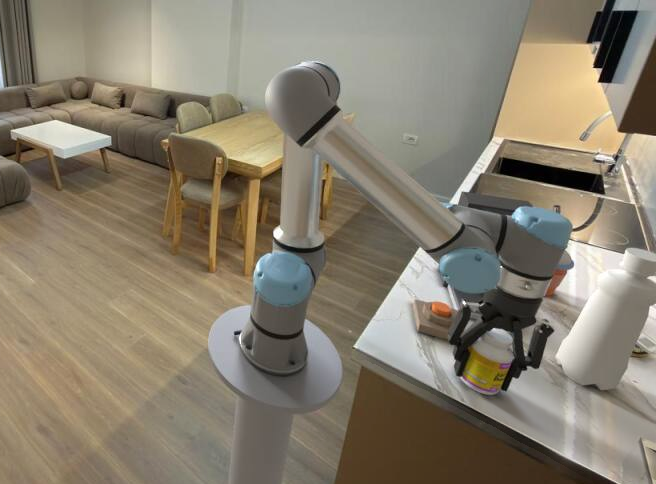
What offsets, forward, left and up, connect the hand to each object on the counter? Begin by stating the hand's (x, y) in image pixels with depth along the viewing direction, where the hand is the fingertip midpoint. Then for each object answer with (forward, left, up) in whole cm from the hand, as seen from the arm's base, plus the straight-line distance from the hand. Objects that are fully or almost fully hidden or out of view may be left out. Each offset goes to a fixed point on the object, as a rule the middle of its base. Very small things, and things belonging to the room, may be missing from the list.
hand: (479, 378), depth 81 cm
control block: (-5, +16, -1) cm, 17 cm away
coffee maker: (+6, +32, -1) cm, 33 cm away
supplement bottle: (0, 0, -1) cm, 1 cm away
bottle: (+20, +12, -1) cm, 24 cm away
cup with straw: (+22, +44, -1) cm, 49 cm away
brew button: (-5, +16, +2) cm, 17 cm away
